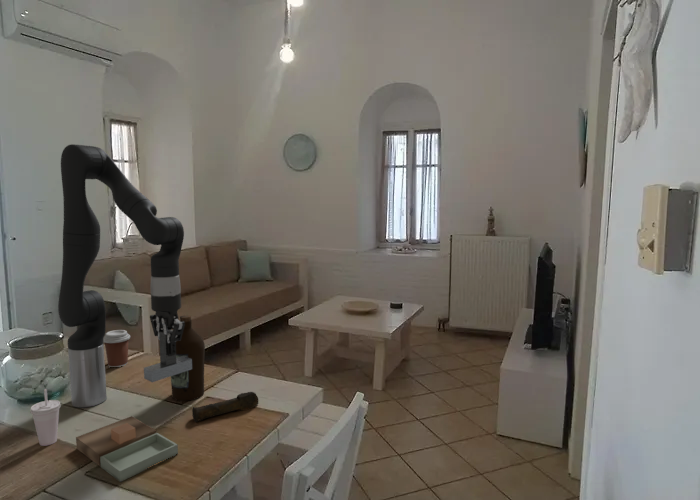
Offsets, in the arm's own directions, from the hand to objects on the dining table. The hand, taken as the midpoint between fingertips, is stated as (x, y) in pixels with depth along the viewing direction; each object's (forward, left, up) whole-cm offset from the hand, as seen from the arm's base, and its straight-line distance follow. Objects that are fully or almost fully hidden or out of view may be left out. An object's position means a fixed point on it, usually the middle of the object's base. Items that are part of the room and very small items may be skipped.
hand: (168, 353), depth 130 cm
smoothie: (-13, -26, -19) cm, 35 cm away
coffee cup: (-52, +11, -19) cm, 56 cm away
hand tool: (+9, +12, -19) cm, 24 cm away
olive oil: (-10, +12, -19) cm, 25 cm away
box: (+13, -16, -19) cm, 28 cm away
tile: (+6, -16, -16) cm, 23 cm away
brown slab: (+2, -16, -19) cm, 25 cm away
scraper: (0, 0, -6) cm, 6 cm away
